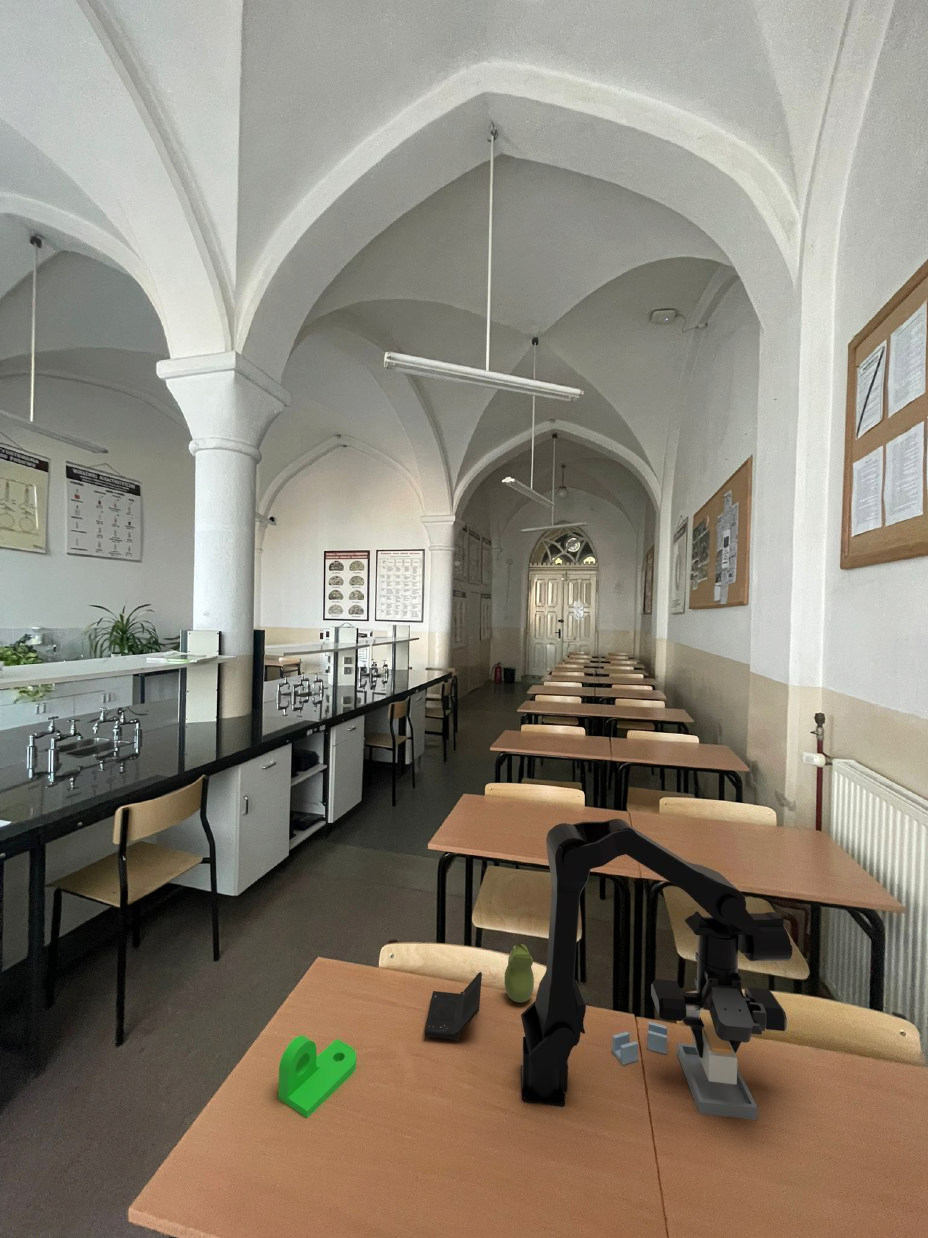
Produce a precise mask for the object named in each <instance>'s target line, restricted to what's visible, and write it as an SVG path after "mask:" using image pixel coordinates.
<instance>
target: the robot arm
mask: <svg viewBox="0 0 928 1238" xmlns="http://www.w3.org/2000/svg"><path fill="white" fill-rule="evenodd" d="M545 838H546V839H545V840H546V842H545V844H546V851H547V852H546V853H547V860H548V861H547V862H548V867H549V871H550V877H551V885H552V886H551V899H550V913H549V914H550V915H549V925H548V926H549V927H548V941H547V954H546V956H547V957H546V968H545V969H546V970H545V973H544V975H543V976H542V977H541V979H540V982H539V984H538V988H537V992H536V997H535V1001H534V1002H532V1003H531V1004H530V1005H529V1006H527V1008H526V1009H525V1010H523V1012H522V1013H521V1015H520V1017H521V1023H522V1028H523V1031H524V1032H523V1033H524V1036H523V1037H522V1064H521V1065H520V1077H521V1079H520V1081H521V1082H520V1083H521V1085H520V1087H521V1088H520V1089H521V1090H520V1091H521V1096H520V1097H521V1099H520V1100H521V1101H522V1102H523V1103H526V1104H527V1103H528V1104H536V1105H537V1104H538V1105H547V1106H555V1107H556V1106H557V1107H565V1106H566V1095H565V1093H567V1092H568V1091H569V1090H568V1089H569V1087H568V1085H569V1083H568V1082H569V1062H568V1060H569V1058H570V1055H571V1052H572V1050H573V1048H574V1047H577V1046H578V1045H579V1043H580V1041H581V1040H580V1038H581V1033H582V1034H583V1035H585V1033H586V1030H585V1028H584V1020H585V1016H586V1012H587V1011H586V1010H587V1005H586V1003H585V1000H584V996H583V995H582V991H581V989H580V986H579V984H578V981H577V979H575V972H576V958H577V944H578V943H577V942H578V929H579V916H580V900H581V899H580V898H581V894H582V892H583V890H584V888H585V886H586V885H587V883H588V881H589V878H590V873H591V870H592V869H596V868H600V867H601V868H602V867H603V866H605V865H607V864H609V863H610V862H611V861H613V860H615V859H616V858H618V857H620V856H628V857H630V858H631V859H632V860H634V861H636V862H638V863H639V864H641V865H642V866H644V867H645V868H647V869H648V870H650V871H652V872H654V873H655V874H657V875H658V876H660V877H661V878H662V879H664V880H666V881H668V882H669V883H671V884H673V885H675V886H676V887H677V888H679V889H681V890H682V891H684V892H685V893H686V894H688V896H689V897H690V898H692V900H693V901H695V902H696V904H698V905H699V906H700V907H701V908H702V909H703V910H704V911H705V912H706V913H707V914H708V915H702V914H701V913H700V912H699V911H695V912H694V913H692V914H691V915H690V916H688V917H687V918H685V919H684V922H685V924H686V925H687V926H688V928H689V929H690V931H691V932H692V933H693V934H694V935H695V936H697V937H698V939H697V952H695V961H696V963H697V967H696V969H697V970H696V972H697V973H696V977H694V985H695V987H696V992H694V991H691V992H687V991H682V990H681V988H680V985H679V984H678V981H677V980H668V979H658V978H655V979H654V980H653V981H652V983H651V985H650V995H651V998H652V1001H653V1004H654V1006H655V1009H656V1012H657V1015H658V1017H659V1018H660V1019H662V1020H663V1021H664V1020H665V1021H673V1022H674V1021H676V1022H682V1023H683V1024H684V1025H685V1026H687V1027H690V1031H691V1034H692V1038H693V1041H694V1042H695V1045H696V1048H697V1051H698V1054H699V1057H700V1058H703V1034H702V1029H703V1028H704V1024H703V1022H702V1021H703V1020H702V1018H701V1015H700V1014H701V1011H708V1012H709V1015H710V1019H711V1022H713V1025H714V1029H715V1033H716V1035H717V1036H718V1037H719V1038H720V1039H722V1040H725V1041H729V1042H730V1044H731V1046H732V1048H733V1050H734V1052H735V1054H736V1055H737V1052H738V1050H739V1048H740V1046H741V1044H742V1043H747V1044H748V1043H749V1042H750V1041H751V1038H752V1036H753V1035H759V1036H762V1035H763V1032H765V1031H766V1030H767V1031H780V1032H785V1031H786V1030H787V1027H788V1026H787V1023H788V1018H787V1013H786V1011H785V1009H784V1008H783V1006H782V1005H781V1004H780V1002H779V1001H778V999H777V998H776V996H775V994H773V992H772V991H771V990H770V989H768V988H759V987H757V988H756V987H748V986H746V987H745V988H744V992H743V989H742V981H741V979H742V978H741V976H740V974H739V973H738V972H739V971H738V969H739V966H738V965H739V952H740V954H742V955H744V957H745V958H746V959H747V960H748V961H750V962H788V961H790V960H791V959H792V957H793V945H792V944H791V939H790V936H789V933H788V931H787V930H786V928H785V926H784V923H785V920H784V918H783V917H782V916H780V914H778V913H777V912H776V911H768V912H762V913H758V912H757V913H753V912H752V913H751V912H749V911H748V909H747V901H746V895H744V894H743V893H742V892H741V890H739V889H738V888H737V887H736V886H734V884H732V883H731V882H730V881H729V880H728V879H727V878H726V877H725V876H724V875H723V874H722V873H720V872H719V871H716V870H714V869H711V868H710V867H707V866H704V865H702V864H696V863H692V862H690V861H688V860H685V859H683V858H682V857H680V856H679V855H678V854H676V853H674V852H673V851H670V850H669V849H667V848H666V847H664V846H663V845H661V844H659V843H658V842H656V841H654V840H653V839H652V838H650V837H648V836H647V835H646V834H644V833H642V832H640V831H639V830H637V829H635V828H634V827H633V826H631V825H630V824H629V823H628V822H627V821H625V820H624V819H621V818H613V819H608V820H604V821H581V822H580V821H579V822H577V823H573V824H572V823H566V822H565V823H564V822H562V823H559V824H557V825H554V826H553V827H552V828H551V829H549V830H548V832H547V835H546V837H545Z"/></svg>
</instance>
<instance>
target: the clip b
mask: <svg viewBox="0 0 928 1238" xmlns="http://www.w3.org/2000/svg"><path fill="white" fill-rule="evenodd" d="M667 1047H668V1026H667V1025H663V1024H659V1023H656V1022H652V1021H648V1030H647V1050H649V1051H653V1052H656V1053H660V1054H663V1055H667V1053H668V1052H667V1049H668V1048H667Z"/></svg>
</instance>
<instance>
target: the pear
mask: <svg viewBox="0 0 928 1238" xmlns="http://www.w3.org/2000/svg"><path fill="white" fill-rule="evenodd" d="M533 964H534V959H533V957H532V955H531V954H530V952H529V950H528V947H527V946H526V944H523V943H522V944H521V943H518V944H517V945H513V946H512V949H511V950H510V952H509V955H508V959H507V966H506V969H505V971H504V989H505V992H506V994H507V996H508V997H509V999H510V1000H512V1001H513V1002H515V1003H517V1004H518V1003H520V1004H521V1003H525V1002H527V1001H529V1000H530V999H531V997H532V995H533V994H534V993H533V992H534V985H535V977H534V971H533V968H532V966H533Z"/></svg>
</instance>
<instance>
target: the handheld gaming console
mask: <svg viewBox="0 0 928 1238" xmlns="http://www.w3.org/2000/svg"><path fill="white" fill-rule="evenodd" d="M482 977H483V972H482V971H479V972H478V973H477V974H476V976H475V977H474V978H473V980H471V982H470V983H469V984H468V985H467V987H466V988H464V990H463V991H461V992H460V993H458V992H447V991H440V990H439V991H437V990H433V991H432V994H431V998H430V999H431V1000H430V1003H429V1008H428V1013H427V1017H426V1021H425V1024H424V1025H425V1026H424V1032H423V1034H424V1035H423V1036H424V1037H428V1038H429V1037H430V1038H438V1039H447V1040H455V1041H459V1038H460V1033H462V1031H463V1030H465V1028H466V1027H467V1025H468V1024H469V1023H470V1022H471V1021H472V1019H474V1017H475V1016H476V1015H477V1013H478V1012H479V1011H480V1003H481V1002H480V1001H481V993H482V992H481V991H482Z"/></svg>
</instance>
